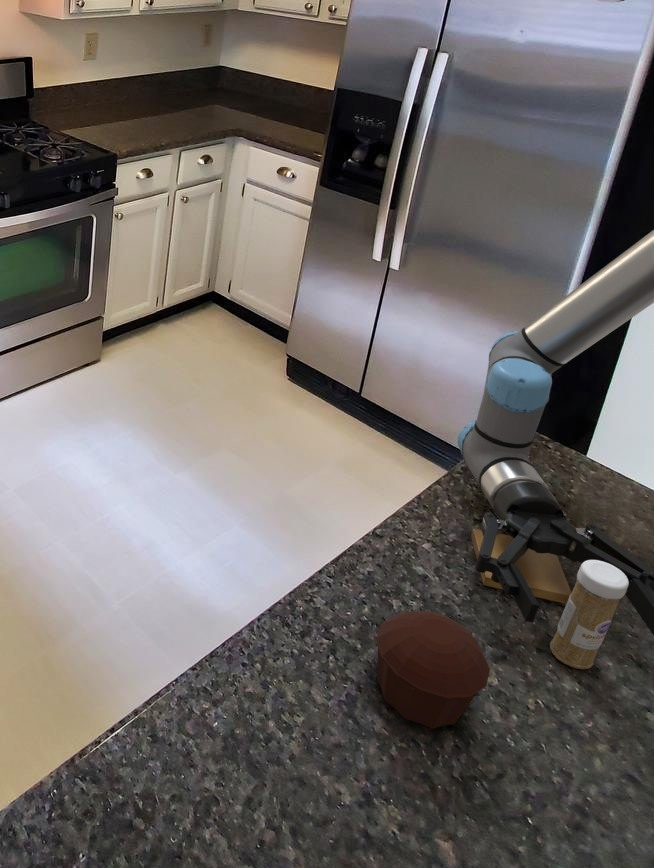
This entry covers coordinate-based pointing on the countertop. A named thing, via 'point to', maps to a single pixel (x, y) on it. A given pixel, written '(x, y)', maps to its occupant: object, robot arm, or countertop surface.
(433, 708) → the muffin
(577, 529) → the robot arm
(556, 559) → the cutting board
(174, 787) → the countertop surface
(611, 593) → the sprinkles bottle
